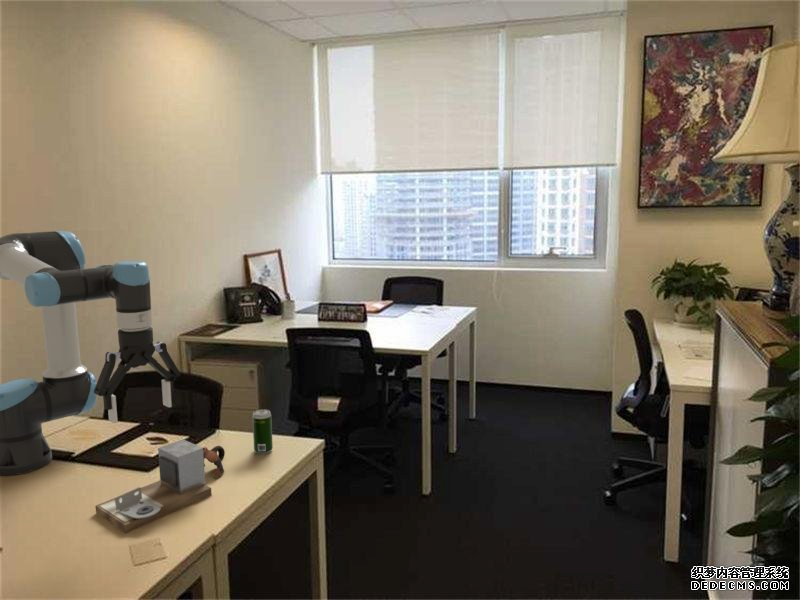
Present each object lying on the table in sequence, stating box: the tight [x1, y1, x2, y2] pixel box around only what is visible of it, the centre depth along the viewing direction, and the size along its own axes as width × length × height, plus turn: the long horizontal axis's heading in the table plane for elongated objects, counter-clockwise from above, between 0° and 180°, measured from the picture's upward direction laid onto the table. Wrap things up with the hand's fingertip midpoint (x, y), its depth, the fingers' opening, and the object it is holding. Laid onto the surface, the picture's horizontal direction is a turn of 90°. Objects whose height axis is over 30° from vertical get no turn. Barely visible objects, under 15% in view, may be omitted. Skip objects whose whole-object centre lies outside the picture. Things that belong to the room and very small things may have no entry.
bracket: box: [115, 486, 161, 519], centre depth 144 cm, size 7×10×4 cm, turn 55°
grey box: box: [157, 439, 206, 495], centre depth 157 cm, size 9×8×10 cm
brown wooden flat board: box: [95, 479, 212, 534], centre depth 152 cm, size 14×22×2 cm, turn 141°
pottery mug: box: [202, 445, 225, 480], centre depth 169 cm, size 12×10×8 cm
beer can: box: [252, 409, 274, 455], centre depth 182 cm, size 5×5×12 cm
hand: (141, 413), depth 149 cm, fingers open, 13 cm apart
